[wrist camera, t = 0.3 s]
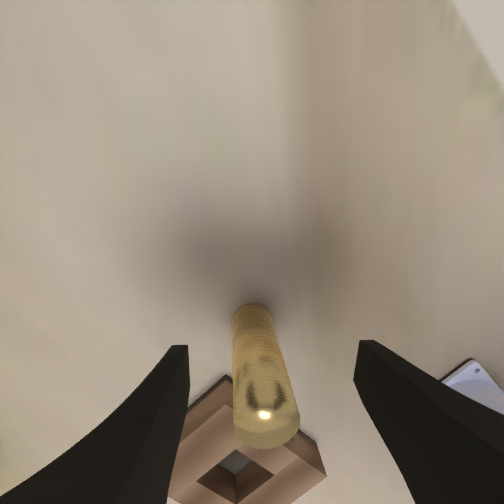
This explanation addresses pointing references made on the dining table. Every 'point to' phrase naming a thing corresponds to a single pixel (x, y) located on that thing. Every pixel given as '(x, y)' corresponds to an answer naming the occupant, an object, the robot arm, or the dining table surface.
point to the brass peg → (260, 382)
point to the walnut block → (237, 459)
